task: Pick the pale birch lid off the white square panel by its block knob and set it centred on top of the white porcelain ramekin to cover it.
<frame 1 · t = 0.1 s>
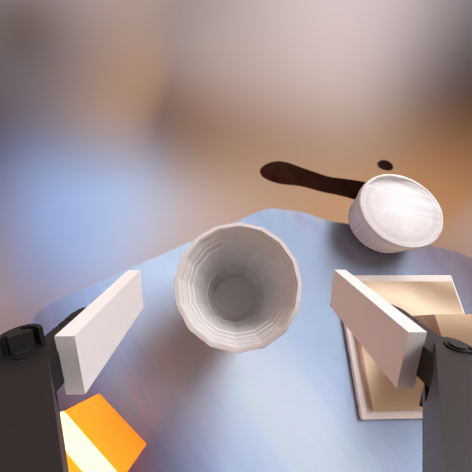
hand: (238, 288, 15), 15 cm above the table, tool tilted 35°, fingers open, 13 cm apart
white square panel: (408, 338, 29), on the table
birch lid: (411, 339, 28), point 1 cm above the table, touching white square panel
ramekin: (376, 225, 35), on the table
plastic cup: (234, 298, 30), on the table
orange juice: (90, 458, 24), on the table
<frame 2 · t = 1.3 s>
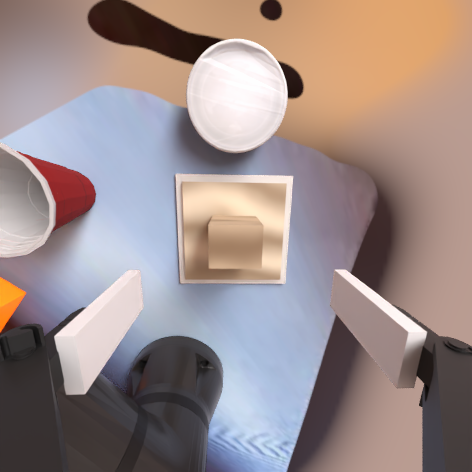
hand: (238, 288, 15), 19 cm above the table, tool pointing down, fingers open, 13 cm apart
white square panel: (233, 231, 34), on the table
birch lid: (233, 232, 33), point 1 cm above the table, touching white square panel
ramekin: (235, 112, 30), on the table
plastic cup: (76, 194, 32), on the table
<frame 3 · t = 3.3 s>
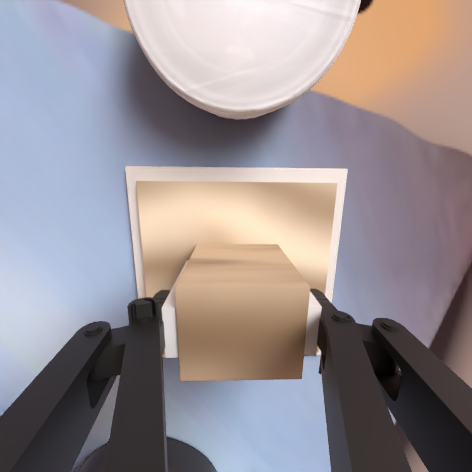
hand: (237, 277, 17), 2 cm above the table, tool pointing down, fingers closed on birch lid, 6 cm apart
white square panel: (236, 268, 19), on the table
birch lid: (236, 271, 18), point 1 cm above the table, touching white square panel, gripper
ramekin: (238, 44, 15), on the table
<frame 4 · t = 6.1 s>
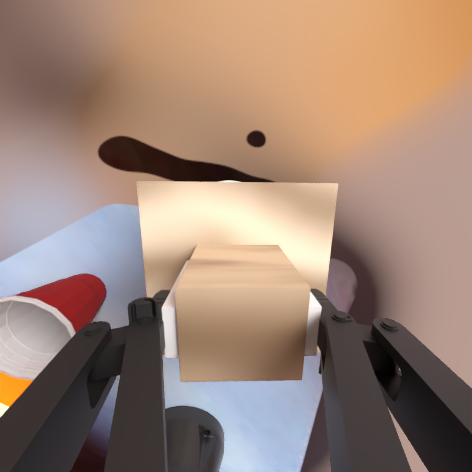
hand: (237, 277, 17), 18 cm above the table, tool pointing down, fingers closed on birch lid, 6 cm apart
birch lid: (237, 272, 18), point 17 cm above the table, touching gripper
plastic cup: (88, 291, 36), on the table
orange juice: (12, 380, 39), on the table
when the fingers open (8 cm above the table, at t = 8.8 s): birch lid drops 1 cm, resting on ramekin.
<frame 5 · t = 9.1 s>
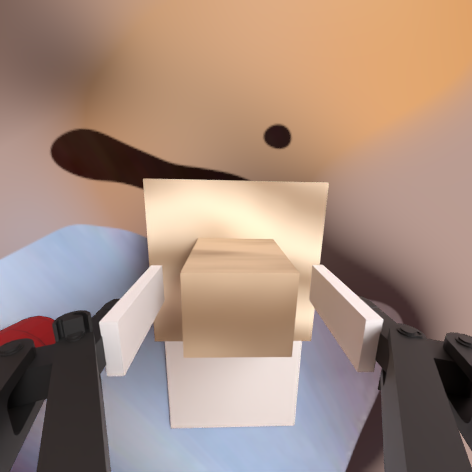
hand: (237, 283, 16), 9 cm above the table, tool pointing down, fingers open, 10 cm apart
white square panel: (233, 371, 28), on the table
birch lid: (235, 264, 20), point 5 cm above the table, touching ramekin
plastic cup: (45, 337, 27), on the table
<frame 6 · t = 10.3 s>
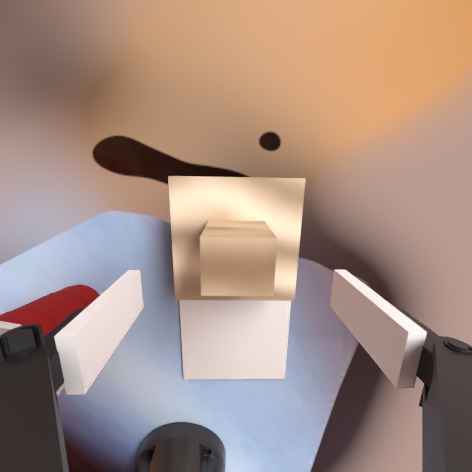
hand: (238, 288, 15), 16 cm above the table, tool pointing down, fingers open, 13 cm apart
white square panel: (234, 333, 35), on the table
birch lid: (236, 241, 26), point 5 cm above the table, touching ramekin
plastic cup: (83, 303, 33), on the table
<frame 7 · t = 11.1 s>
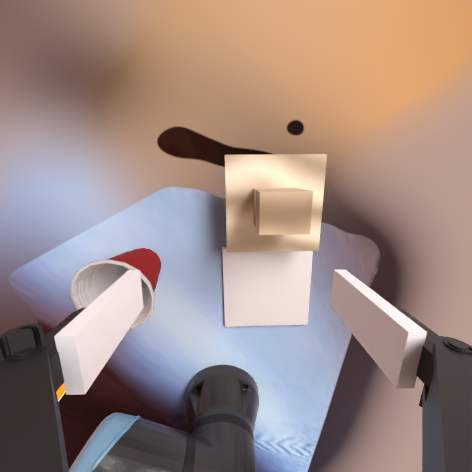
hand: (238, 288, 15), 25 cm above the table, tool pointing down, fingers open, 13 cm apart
white square panel: (266, 286, 43), on the table
birch lid: (273, 205, 34), point 5 cm above the table, touching ramekin
plastic cup: (145, 263, 41), on the table
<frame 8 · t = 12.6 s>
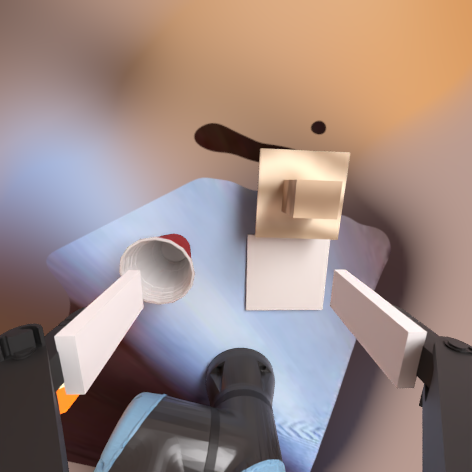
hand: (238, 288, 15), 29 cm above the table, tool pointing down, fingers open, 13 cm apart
white square panel: (286, 273, 46), on the table
birch lid: (299, 196, 38), point 5 cm above the table, touching ramekin
plastic cup: (175, 248, 45), on the table
orange juice: (107, 321, 48), on the table
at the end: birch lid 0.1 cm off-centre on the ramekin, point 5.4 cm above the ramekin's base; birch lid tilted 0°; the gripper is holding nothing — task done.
